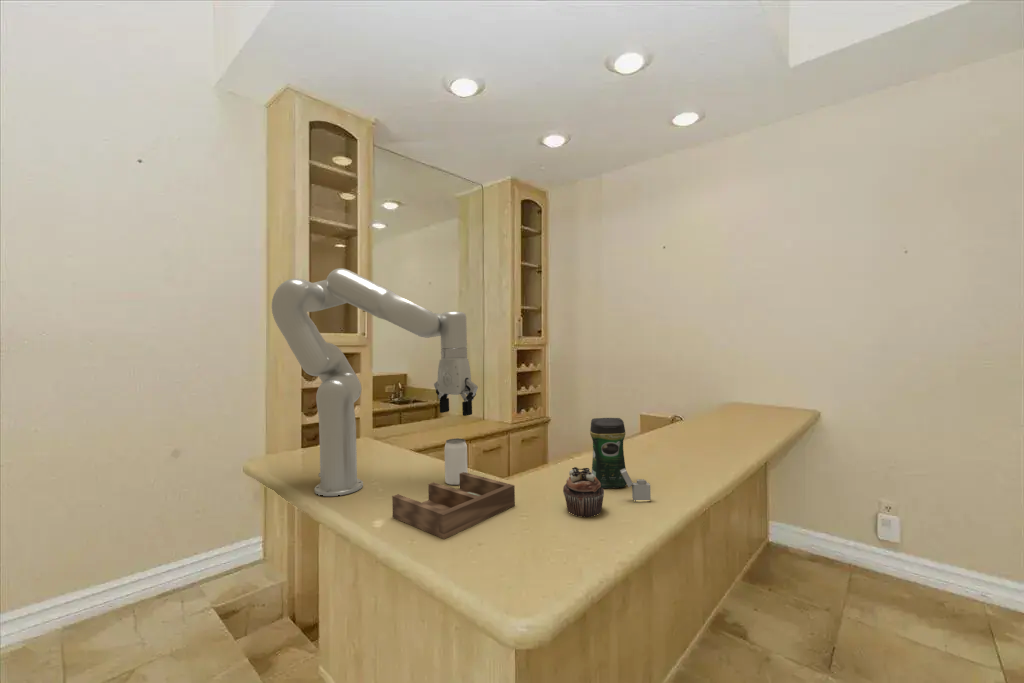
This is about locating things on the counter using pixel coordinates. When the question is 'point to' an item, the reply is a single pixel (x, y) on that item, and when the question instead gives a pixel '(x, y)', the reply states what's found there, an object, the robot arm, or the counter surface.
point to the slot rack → (455, 505)
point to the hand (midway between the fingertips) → (455, 413)
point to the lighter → (637, 487)
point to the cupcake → (583, 493)
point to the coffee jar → (608, 451)
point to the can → (455, 460)
